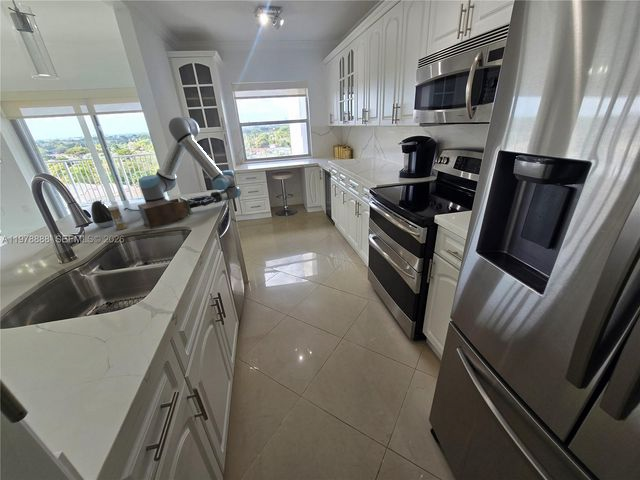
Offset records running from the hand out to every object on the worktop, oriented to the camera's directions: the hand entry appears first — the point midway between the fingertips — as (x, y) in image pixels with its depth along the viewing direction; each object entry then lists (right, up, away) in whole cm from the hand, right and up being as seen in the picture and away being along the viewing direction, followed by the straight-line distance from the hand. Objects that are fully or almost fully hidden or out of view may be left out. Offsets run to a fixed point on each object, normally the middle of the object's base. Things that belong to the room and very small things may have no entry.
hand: (185, 204), depth 159 cm
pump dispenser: (-42, -14, -8) cm, 45 cm away
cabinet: (-11, -12, -7) cm, 18 cm away
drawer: (-3, -7, 0) cm, 7 cm away
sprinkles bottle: (-30, -16, -13) cm, 36 cm away
